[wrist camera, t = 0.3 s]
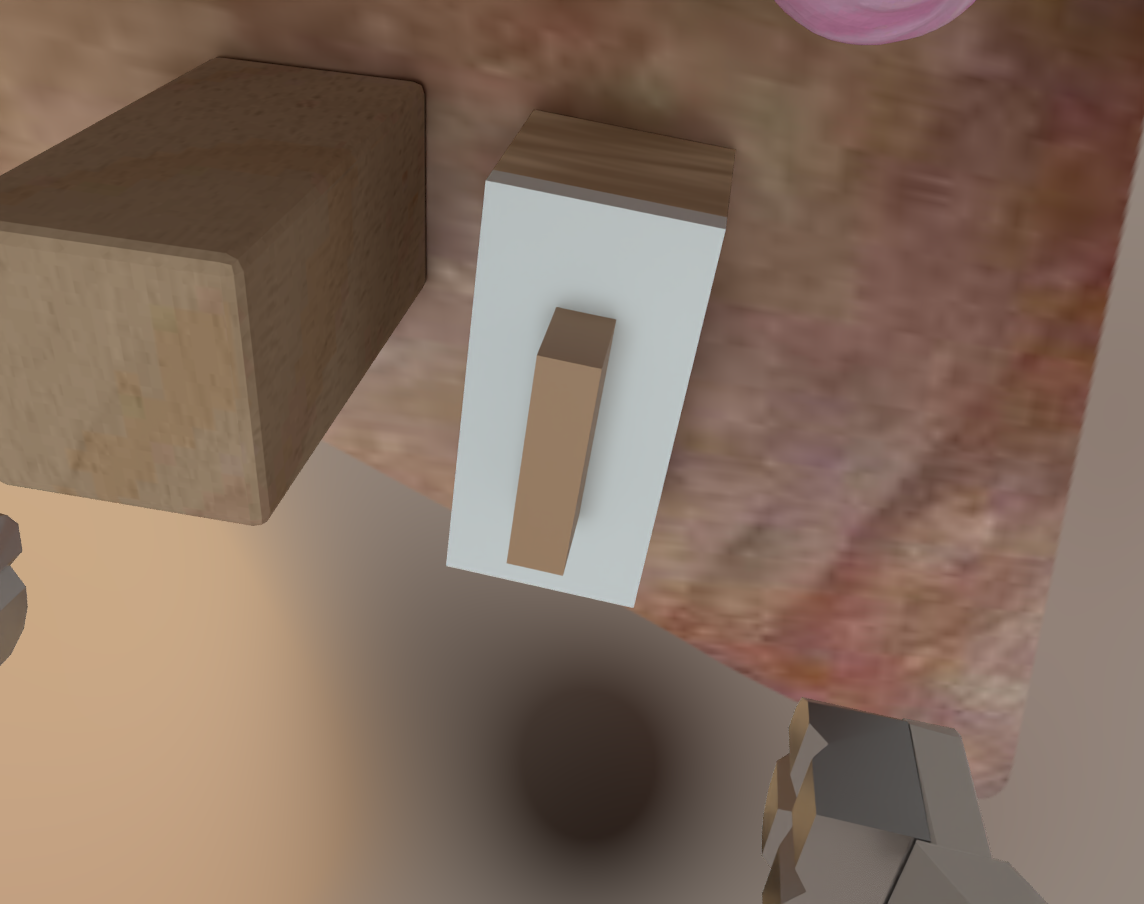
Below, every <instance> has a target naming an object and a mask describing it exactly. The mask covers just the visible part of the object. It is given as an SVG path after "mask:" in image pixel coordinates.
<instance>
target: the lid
mask: <svg viewBox="0 0 1144 904" xmlns="http://www.w3.org/2000/svg"><path fill="white" fill-rule="evenodd" d="M726 223H727V217H723V216H718V215H714V214H709V213H704V212H699V211H694V210H689V209H684V208H679V207H674V206H669V205H664V204H660V203H655V202H650V201H645V200H640V199H635V198H630V197H625V196H620V195H615V194H610V193H605V192H601V191H596V190H591V189H586V188H581V187H576V186H571V185H566V184H561V183H556V182H551V181H546V180H542V179H537V178H532V177H527V176H522V175H517V174H512V173H507V172H502V171H497V170H493V171H492V172H491V173H490V175H489V176H488V178H487V179H486V183H485V193H484V202H483V212H482V222H481V232H480V241H479V251H478V261H477V271H476V280H475V290H474V300H473V310H472V319H471V329H470V339H469V349H468V358H467V368H466V378H465V387H464V397H463V407H462V417H461V426H460V436H459V446H458V456H457V465H456V475H455V485H454V495H453V504H452V514H451V524H450V534H449V543H448V553H447V563H446V566H449V567H454V568H458V569H463V570H467V571H472V572H476V573H481V574H485V575H490V576H494V577H498V578H503V579H508V580H512V581H516V582H521V583H525V584H530V585H534V586H538V587H543V588H547V589H552V590H556V591H561V592H566V593H569V594H574V595H578V596H583V597H587V598H592V599H597V600H601V601H605V602H609V603H614V604H618V605H623V606H627V607H632V608H633V607H634V603H635V599H636V595H637V591H638V587H639V583H640V579H641V575H642V570H643V566H644V562H645V558H646V554H647V550H648V546H649V542H650V538H651V534H652V530H653V525H654V521H655V517H656V513H657V509H658V505H659V501H660V497H661V493H662V489H663V484H664V480H665V476H666V472H667V468H668V464H669V460H670V456H671V452H672V448H673V443H674V439H675V435H676V431H677V427H678V423H679V419H680V415H681V411H682V407H683V403H684V398H685V394H686V390H687V386H688V382H689V378H690V374H691V370H692V366H693V362H694V357H695V353H696V349H697V345H698V341H699V337H700V333H701V329H702V325H703V321H704V317H705V312H706V308H707V304H708V300H709V296H710V292H711V288H712V284H713V280H714V276H715V271H716V267H717V263H718V259H719V255H720V251H721V247H722V243H723V239H724V235H725V230H726Z"/></svg>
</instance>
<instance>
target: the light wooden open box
mask: <svg viewBox="0 0 1144 904" xmlns="http://www.w3.org/2000/svg"><path fill="white" fill-rule="evenodd" d="M734 158H735V150H734V149H729V148H724V147H719V146H714V145H709V144H704V143H699V142H694V141H689V140H684V139H679V138H674V137H669V136H664V135H659V134H654V133H649V132H644V131H639V130H634V129H629V128H624V127H619V126H614V125H609V124H604V123H599V122H594V121H589V120H584V119H579V118H574V117H569V116H564V115H559V114H554V113H549V112H544V111H539V110H534V111H533V112H532V113H531V115H530V116H529V118H528V119H527V121H526V122H525V124H524V125H523V127H522V128H521V130H520V131H519V132H518V134H517V135H516V137H515V138H514V140H513V141H512V143H511V144H510V146H509V147H508V149H507V150H506V151H505V153H504V154H503V156H502V157H501V159H500V160H499V162H498V163H497V165H496V166H495V168H494V169H493V170H497V171H502V172H507V173H512V174H517V175H522V176H527V177H532V178H537V179H542V180H546V181H551V182H556V183H561V184H566V185H571V186H576V187H581V188H586V189H591V190H596V191H601V192H605V193H610V194H615V195H620V196H625V197H630V198H635V199H640V200H645V201H650V202H655V203H660V204H664V205H669V206H674V207H679V208H684V209H689V210H694V211H699V212H704V213H709V214H714V215H718V216H723V217H727V215H728V207H729V199H730V191H731V183H732V174H733V166H734Z"/></svg>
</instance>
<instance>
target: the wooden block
mask: <svg viewBox="0 0 1144 904" xmlns="http://www.w3.org/2000/svg"><path fill="white" fill-rule="evenodd" d="M424 283H425V95H424V92H423V88H422V86H421V85H419V84H417V83H415V82H412V81H404V80H396V79H388V78H380V77H372V76H364V75H356V74H348V73H340V72H332V71H324V70H316V69H308V68H300V67H292V66H284V65H275V64H267V63H259V62H251V61H243V60H235V59H227V58H219V57H217V58H214V59H211V60H209V61H207V62H205V63H204V64H202V65H200V66H198V67H196V68H195V69H193V70H191V71H189V72H187V73H185V74H184V75H182V76H180V77H178V78H176V79H175V80H173V81H171V82H169V83H167V84H166V85H164V86H162V87H160V88H158V89H157V90H155V91H153V92H151V93H149V94H147V95H146V96H144V97H142V98H140V99H138V100H137V101H135V102H133V103H131V104H129V105H128V106H126V107H124V108H122V109H120V110H119V111H117V112H115V113H113V114H111V115H109V116H108V117H106V118H104V119H102V120H100V121H99V122H97V123H95V124H93V125H91V126H90V127H88V128H86V129H84V130H82V131H81V132H79V133H77V134H75V135H73V136H71V137H70V138H68V139H66V140H64V141H62V142H61V143H59V144H57V145H55V146H53V147H52V148H50V149H48V150H46V151H44V152H43V153H41V154H39V155H37V156H35V157H33V158H32V159H30V160H28V161H26V162H24V163H23V164H21V165H19V166H17V167H15V168H14V169H12V170H10V171H8V172H6V173H5V174H3V175H1V176H0V481H1V482H3V483H5V484H7V485H13V486H20V487H25V488H31V489H37V490H43V491H49V492H55V493H61V494H67V495H73V496H79V497H85V498H90V499H97V500H102V501H108V502H114V503H121V504H126V505H132V506H138V507H144V508H150V509H156V510H162V511H168V512H174V513H180V514H186V515H192V516H198V517H204V518H210V519H216V520H222V521H227V522H233V523H239V524H245V525H251V526H255V525H262V524H263V523H265V522H267V520H268V519H269V518H270V516H271V514H272V513H273V511H274V510H275V508H276V507H277V506H278V504H279V503H280V501H281V500H282V498H283V497H284V495H285V493H286V492H287V490H288V489H289V487H290V486H291V484H292V483H293V481H294V480H295V478H296V477H297V475H298V474H299V472H300V471H301V469H302V468H303V466H304V465H305V463H306V462H307V460H308V459H309V457H310V456H311V454H312V453H313V451H314V450H315V448H316V447H317V445H318V444H319V442H320V441H321V439H322V438H323V436H324V435H325V433H326V432H327V430H328V429H329V427H330V426H331V424H332V423H333V421H334V420H335V418H336V417H337V415H338V414H339V412H340V411H341V409H342V408H343V406H344V405H345V403H346V402H347V400H348V399H349V397H350V396H351V394H352V393H353V391H354V390H355V388H356V387H357V385H358V384H359V382H360V381H361V379H362V378H363V376H364V375H365V373H366V372H367V370H368V369H369V367H370V366H371V364H372V363H373V361H374V360H375V358H376V357H377V355H378V354H379V352H380V351H381V349H382V348H383V346H384V345H385V343H386V342H387V340H388V339H389V337H390V336H391V334H392V333H393V331H394V330H395V328H396V327H397V325H398V324H399V322H400V321H401V319H402V318H403V316H404V315H405V313H406V312H407V310H408V309H409V307H410V306H411V304H412V303H413V301H414V300H415V298H416V297H417V295H418V294H419V292H420V291H421V289H422V288H423V285H424Z"/></svg>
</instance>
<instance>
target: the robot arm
mask: <svg viewBox="0 0 1144 904" xmlns="http://www.w3.org/2000/svg"><path fill="white" fill-rule="evenodd" d="M21 552H22V546H21V539H20V533H19V526H18V524H17V523H16V522H15V521H14V520H12V519H11V518H10V517H8V516H7V515H4V514H0V665H1V664H2V663H3V662H4V661H5V660H6V659H7V658H8V657H9V656H10V655H11V653H12V651H13V649H14V647H15V645H16V643H17V641H18V639H19V637H20V635H21V633H22V631H23V629H24V624H25V619H26V613H27V607H28V606H27V594H26V586H25V585H24V583H23V582H22V581H21V580H20V578H19V577H18V576H17V574H16V573H15V572H14V570H13V569H12V568H11V566H10V565H11V564H12V563H13V561H14V560H15V559H16V558H17V556H18V555H19V554H20V553H21ZM762 857H763V858H764V860H765V861H766V862H767V864H768V865H769V867H770V868H771V870H770V873H769V875H768V878H767V881H766V884H765V886H764V889H763V892H762V904H1048V903H1047V902H1046V901H1045V900H1044V899H1043V898H1042V897H1041V896H1040V895H1039V894H1038V893H1037V891H1036V890H1034V888H1033V887H1032V886H1031V885H1030V884H1029V883H1028V882H1027V881H1026V880H1025V879H1024V878H1023V877H1022V876H1021V875H1020V873H1019V872H1018V871H1017V870H1016V869H1015V868H1014V867H1013V866H1012V865H1011V864H1010V863H1009V862H1006V861H1003V860H999V859H994V858H993V856H992V853H991V848H990V844H989V841H988V837H987V833H986V829H985V825H984V822H983V818H982V814H981V810H980V806H979V803H978V799H977V795H976V791H975V787H974V783H973V780H972V776H971V772H970V768H969V764H968V761H967V757H966V753H965V749H964V745H963V742H962V738H961V736H960V734H959V733H958V732H957V731H956V730H955V729H954V728H949V727H944V726H939V725H934V724H929V723H924V722H920V721H915V720H910V719H905V718H904V719H902V720H901V719H897V718H893V717H888V716H884V715H879V714H875V713H870V712H866V711H862V710H857V709H853V708H848V707H844V706H839V705H835V704H830V703H826V702H821V701H817V700H812V699H808V698H803V697H802V698H801V700H800V701H799V703H798V705H797V707H796V709H795V711H794V714H793V717H792V720H791V722H790V725H789V754H787V755H786V756H784V757H782V758H781V759H779V760H778V761H777V762H776V765H775V769H774V772H773V775H772V778H771V782H770V785H769V789H768V793H767V798H766V803H765V808H764V813H763V825H762Z"/></svg>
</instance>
